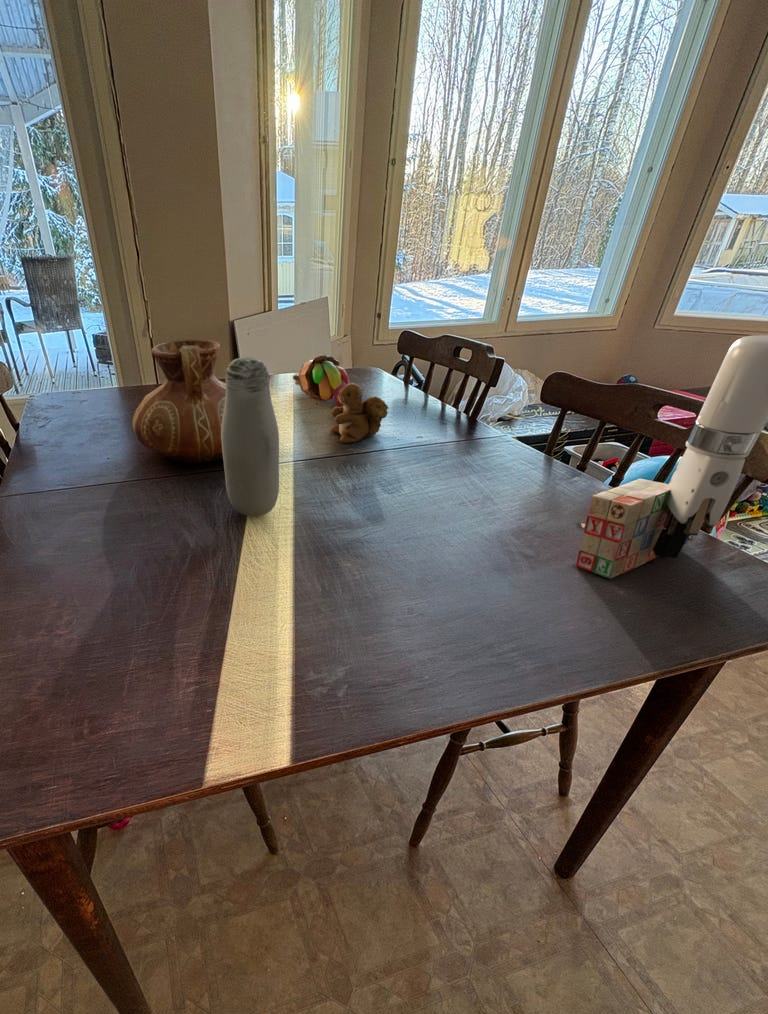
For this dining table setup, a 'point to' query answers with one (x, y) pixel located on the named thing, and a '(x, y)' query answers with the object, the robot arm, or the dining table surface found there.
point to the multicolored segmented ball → (322, 378)
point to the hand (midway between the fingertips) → (664, 554)
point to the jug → (184, 404)
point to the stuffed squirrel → (357, 414)
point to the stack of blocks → (623, 527)
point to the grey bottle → (250, 438)
